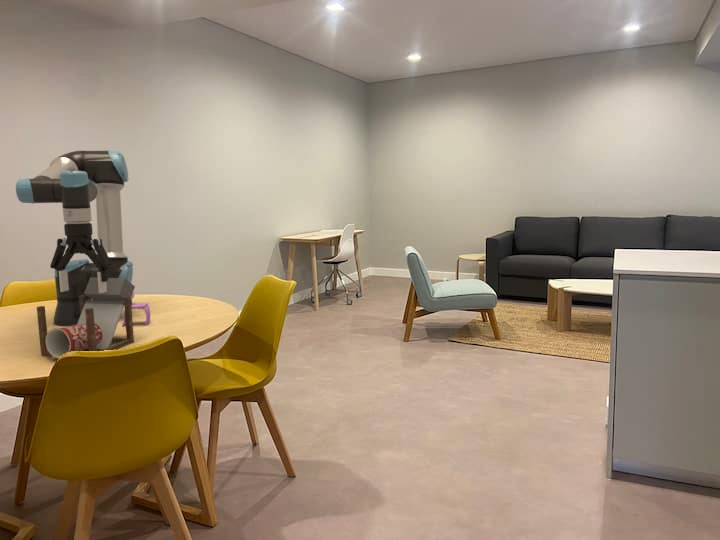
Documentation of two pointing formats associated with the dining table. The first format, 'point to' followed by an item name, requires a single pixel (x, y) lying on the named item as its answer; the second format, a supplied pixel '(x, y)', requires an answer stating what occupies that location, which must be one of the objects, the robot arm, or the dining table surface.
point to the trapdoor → (106, 306)
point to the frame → (89, 327)
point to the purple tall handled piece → (140, 306)
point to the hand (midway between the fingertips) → (83, 291)
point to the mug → (69, 339)
